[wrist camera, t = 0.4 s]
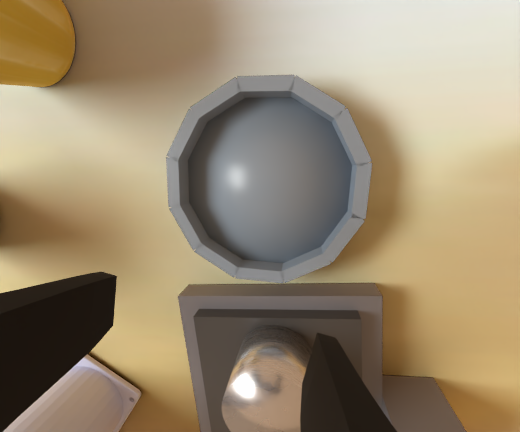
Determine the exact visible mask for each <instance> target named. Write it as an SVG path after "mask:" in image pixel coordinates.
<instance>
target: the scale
mask: <svg viewBox="0 0 520 432" xmlns="http://www.w3.org/2000/svg"><path fill="white" fill-rule="evenodd" d="M178 300H179V306H180V312H181V318H182V324H183V330H184V336H185V342H186V348H187V354H188V360H189V366H190V372H191V378H192V383H193V389H194V395H195V401H196V407H197V413H198V419H199V425H200V431H201V432H231V431H230V430H229V429H228V427H227V425H226V423H225V421H224V418H223V414H222V400H223V397H224V394H225V391H226V388H227V385H228V382H229V379H230V376H231V373H232V370H233V367H234V364H235V361H236V358H237V355H238V352H239V349H240V347H241V344H242V341H243V340H244V338H245V337H246V336H247V334H249V333H250V332H251V331H252V330H254V329H256V328H258V327H261V326H266V325H278V326H283V327H286V328H289V329H291V330H293V331H295V332H297V333H298V334H299V335H301V336H302V337H303V338H304V339H305V340H306V342H307V343H308V345H309V346H310V348H311V350H312V348H313V344H314V341H315V338H316V334H317V333H321V334H324V335H328V336H332V337H335V338H336V339H337V340H338V342H339V343H340V345H341V347H342V348H343V350H344V352H345V353H346V355H347V357H348V358H349V360H350V362H351V363H352V365H353V366H354V368H355V370H356V371H357V373H358V375H359V376H360V378H361V379H362V381H363V382H364V384H365V386H366V387H367V389H368V390H369V392H370V393H371V395H372V396H373V398H374V399H375V401H376V402H377V404H378V405H379V407H380V408H381V410H382V411H383V412H384V414H385V415H386V417H387V418H388V420H389V421H390V422H391V424H392V425H393V427H394V428H395V429H396V431H397V432H466V430H465V429H464V427H463V425H462V424H461V422H460V420H459V419H458V417H457V416H456V414H455V412H454V411H453V409H452V407H451V406H450V404H449V403H448V401H447V399H446V398H445V396H444V394H443V393H442V391H441V390H440V388H439V386H438V385H437V383H436V381H435V380H434V378H428V377H409V376H390V375H382V295H381V293H380V291H379V290H378V288H377V286H376V285H375V283H322V284H212V285H188V286H187V287H186V288H185V289H184V290H183V291H182V292H181V293H180V294H179V296H178Z"/></svg>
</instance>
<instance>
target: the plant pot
mask: <svg viewBox="0 0 520 432" xmlns="http://www.w3.org/2000/svg"><path fill="white" fill-rule="evenodd" d="M74 52H75V32H74V27H73V23H72V20H71V17H70V15H69V13H68V11H67V9H66V7H65V5H64V3H63V2H62V0H0V84H5V85H20V86H32V87H47V86H50V85H53V84H55V83H57V82H58V81H59V80H61V79H62V78H63V77H64V76H65V74H66V73H67V72H68V70H69V68H70V66H71V64H72V61H73V57H74Z"/></svg>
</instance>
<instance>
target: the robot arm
mask: <svg viewBox="0 0 520 432" xmlns="http://www.w3.org/2000/svg"><path fill="white" fill-rule="evenodd" d="M116 278H117V276H115V275H111V274H107V273H104V272H97V273H90V274H85V275H80V276H76V277H71V278H67V279H62V280H58V281H54V282H49V283H45V284H41V285H36V286H32V287H28V288H23V289H19V290H14V291H9V292H5V293H0V432H119V430H120V429H121V427H122V425H123V424H124V422H125V421H126V419H127V417H128V416H129V414H130V413H131V411H132V409H133V408H134V406H135V405H136V403H137V401H138V400H139V398H140V397H141V391H140V390H139V389H137V388H136V387H134V386H133V385H131V384H130V383H129V382H127V381H126V380H124V379H123V378H121V377H120V376H118V375H117V374H115V373H114V372H112V371H111V370H109V369H108V368H107V367H105V366H104V365H102V364H101V363H99V362H98V361H96V360H95V359H93V358H92V357H90V356H89V355H87V354H88V353H89V352H90V351H91V350H92V349H93V348H94V347H95V346H96V344H97V343H98V342H99V341H100V340H101V339H102V338H103V337H104V335H105V334H106V333H107V332H108V331H109V330H110V328H111V327H112V326H113V319H114V305H115V292H116ZM300 430H301V432H397V431H396V429H395V428H394V427H393V425H392V424H391V422H390V421H389V420H388V418H387V417H386V415H385V414H384V412H383V411H382V410H381V408H380V407H379V405H378V404H377V402H376V401H375V399H374V398H373V396H372V395H371V393H370V392H369V390H368V389H367V387H366V386H365V384H364V382H363V381H362V379H361V378H360V376H359V375H358V373H357V371H356V370H355V368H354V366H353V365H352V363H351V362H350V360H349V358H348V357H347V355H346V353H345V352H344V350H343V348H342V347H341V345H340V343H339V342H338V340H337V339H336V338H335V337H332V336H328V335H324V334H321V333H317V334H316V338H315V341H314V344H313V348H312V351H311V355H310V358H309V362H308V365H307V368H306V372H305V375H304V379H303V382H302V393H301V411H300Z"/></svg>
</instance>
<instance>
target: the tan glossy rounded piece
mask: <svg viewBox="0 0 520 432" xmlns="http://www.w3.org/2000/svg"><path fill="white" fill-rule="evenodd" d="M311 351H312V350H311V348H310V346H309V345H308V343H307V342H306V340H305V339H304V338H303V337H302V336H301V335H299V334H298V333H297V332H295V331H293V330H291V329H289V328H286V327H283V326H278V325H266V326H261V327H258V328H256V329H254V330H252V331H251V332H250V333H249V334H247V336H246V337H245V338H244V340H243V341H242V344H241V347H240V349H239V352H238V355H237V358H236V361H235V364H234V367H233V370H232V373H231V376H230V379H229V382H228V385H227V388H226V391H225V394H224V397H223V400H222V414H223V418H224V421H225V423H226V425H227V427H228V429H229V430H230V431H231V432H301V430H300V411H301V393H302V382H303V379H304V375H305V372H306V368H307V365H308V362H309V358H310V355H311Z"/></svg>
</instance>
